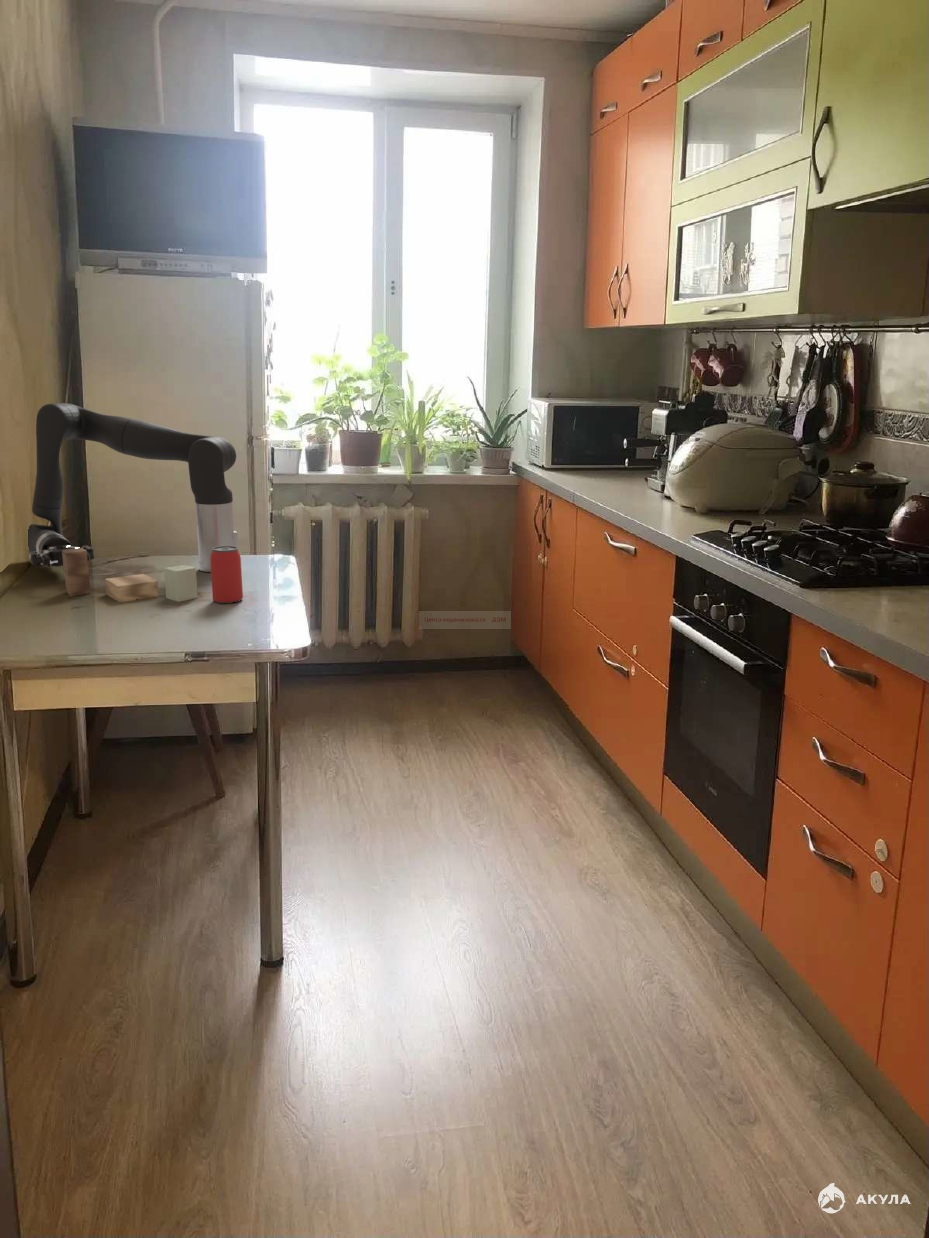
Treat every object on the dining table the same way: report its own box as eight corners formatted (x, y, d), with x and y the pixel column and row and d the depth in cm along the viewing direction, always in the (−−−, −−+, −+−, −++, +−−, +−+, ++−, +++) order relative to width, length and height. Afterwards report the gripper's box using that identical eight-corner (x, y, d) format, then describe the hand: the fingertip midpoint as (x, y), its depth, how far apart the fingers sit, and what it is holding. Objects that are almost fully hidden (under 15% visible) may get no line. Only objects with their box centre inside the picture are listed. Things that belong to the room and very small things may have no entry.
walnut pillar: (86, 589, 235) (82, 547, 232) (90, 593, 231) (86, 551, 229) (66, 592, 233) (61, 549, 230) (70, 596, 229) (65, 553, 226)
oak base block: (145, 590, 236) (144, 573, 235) (158, 598, 229) (157, 581, 228) (106, 595, 231) (105, 578, 230) (119, 603, 224) (117, 586, 223)
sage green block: (185, 594, 231) (183, 564, 229) (197, 597, 228) (195, 567, 226) (166, 598, 228) (164, 567, 226) (178, 601, 224) (176, 571, 223)
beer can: (246, 597, 228) (243, 545, 225) (237, 604, 222) (234, 551, 219) (218, 596, 229) (215, 545, 226) (208, 603, 223) (205, 550, 219)
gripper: (21, 536, 246) (33, 547, 233) (82, 531, 254) (97, 541, 240) (25, 566, 248) (37, 579, 235) (85, 560, 256) (100, 572, 242)
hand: (67, 560), depth 238 cm, fingers open, 8 cm apart
